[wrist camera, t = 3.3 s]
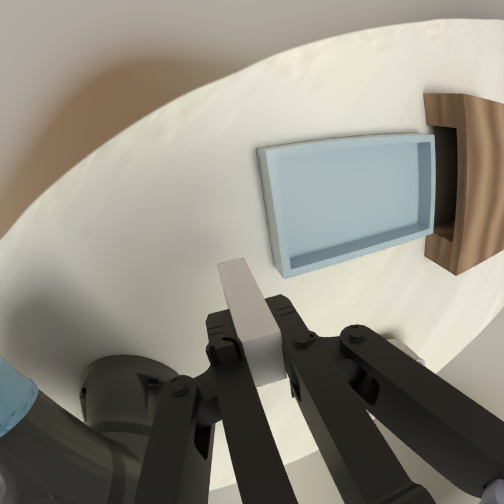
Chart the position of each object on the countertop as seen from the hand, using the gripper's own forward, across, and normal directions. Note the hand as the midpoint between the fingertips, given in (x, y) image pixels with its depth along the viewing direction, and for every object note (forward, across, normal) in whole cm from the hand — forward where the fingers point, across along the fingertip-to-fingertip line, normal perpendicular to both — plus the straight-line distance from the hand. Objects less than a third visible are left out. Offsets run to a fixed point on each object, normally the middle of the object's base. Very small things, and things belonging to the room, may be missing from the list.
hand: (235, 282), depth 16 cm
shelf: (+12, +34, 0) cm, 36 cm away
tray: (+12, +15, 0) cm, 19 cm away
